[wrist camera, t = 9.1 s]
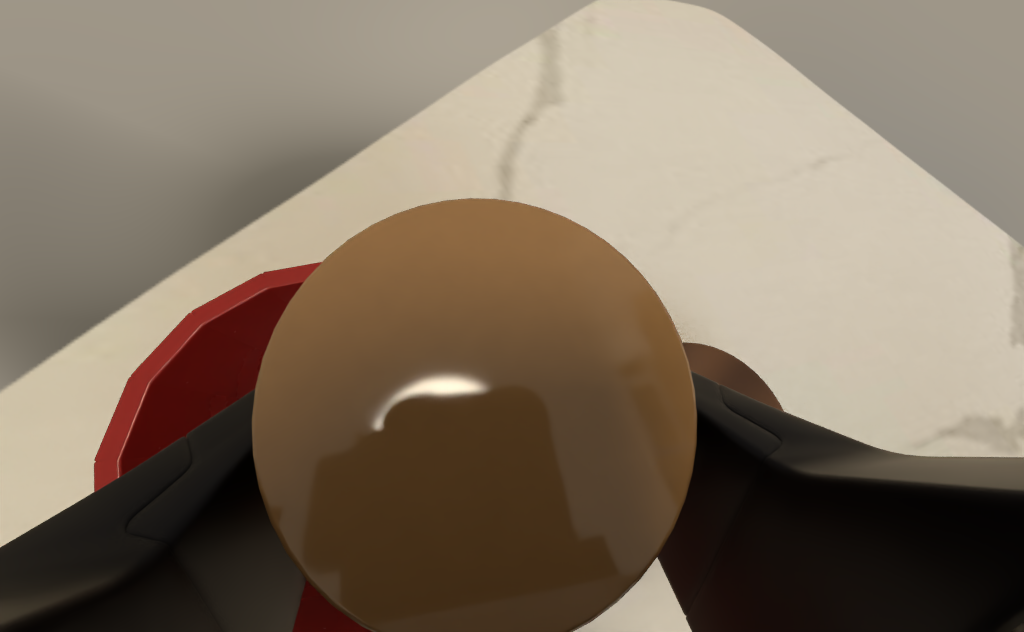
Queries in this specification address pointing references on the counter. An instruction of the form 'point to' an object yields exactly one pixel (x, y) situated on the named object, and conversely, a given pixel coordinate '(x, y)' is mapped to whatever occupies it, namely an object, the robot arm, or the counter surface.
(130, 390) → the pot
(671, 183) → the counter surface
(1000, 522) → the robot arm
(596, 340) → the jar
